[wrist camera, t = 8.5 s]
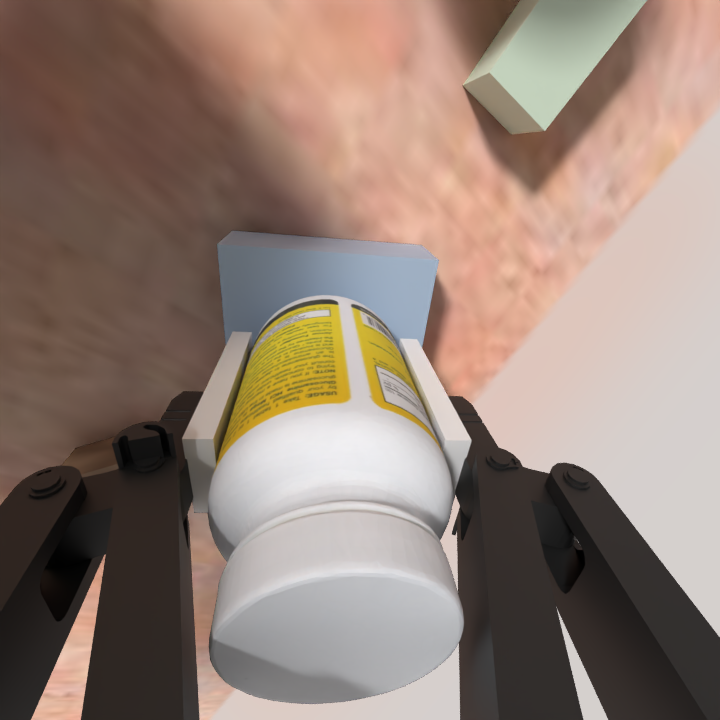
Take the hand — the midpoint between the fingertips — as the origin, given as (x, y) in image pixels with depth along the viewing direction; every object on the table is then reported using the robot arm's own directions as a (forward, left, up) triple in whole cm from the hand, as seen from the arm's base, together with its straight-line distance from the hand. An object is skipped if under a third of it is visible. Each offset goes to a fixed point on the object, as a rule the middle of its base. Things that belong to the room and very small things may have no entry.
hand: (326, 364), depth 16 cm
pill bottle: (0, 0, -1) cm, 1 cm away
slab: (0, 0, -4) cm, 4 cm away
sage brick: (+8, +13, -5) cm, 16 cm away
